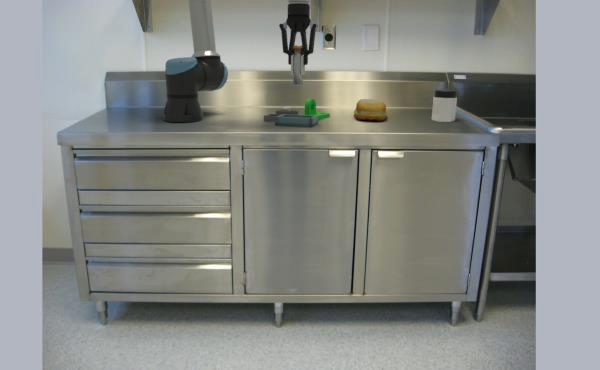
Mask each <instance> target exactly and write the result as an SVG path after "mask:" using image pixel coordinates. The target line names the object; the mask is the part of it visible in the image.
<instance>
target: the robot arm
mask: <svg viewBox="0 0 600 370" xmlns="http://www.w3.org/2000/svg"><path fill="white" fill-rule="evenodd" d="M287 2H288V5H287V18H286V20H285V21H284V22H283V23H280V24H279V25H278V26H279V29H280V30H281V33H280V34H281V41H282V43H281V44H282V53H283V54H286V55H288V56H287V57H288V58H287V64H288V65H290V75H291V76H293V56H294V55H293V49H292V46H296V43H295V42H296V39H297V33H300V38H301V46H303V56H301V75H303V76H304V75H306V66H307V65H308V64H309V55H312V54H313V53H314V50H315V40H316V31H317V29H318V28H319V26H318V24H317V23H314V22H312V20H311V18H310V17H311V16H310V14H311V13H310V10H311V8H310V7H311V6H310V4H309V3H310V2H311V0H287ZM188 7H189V8H188V9H189V17H190V18H189V19H190V26H191V36H192V37H191V38H192V43H193V45H192V46H193V53H192V55H191V56H188V57H184V56H183V57H176V58H171V59H167V61H166V62H165V70H164V73H165V88H166V102H165V106H164V110H163V114H162V120H163V121H164V122H169V123H170V122H172V123H194V122H201V121H203V120H204V112H203V110H202V107H201V104H200V102H199V92H213V91H219V90H221V89H222V88H223V87H224V86H225V84H226V83H227V81H228V76H229V72H228V67H227V66H226V65H225V63H224V62H223V61H222V60H221V55H220V53H218V52H217V49H216V38H215V28H214V20H213V19H214V18H213V17H214V16H213V7H212V0H188ZM288 28H289V30H290V34H289V35H290V36H289V37H290V38H289V42H288V32H287V29H288ZM308 28H309V29H310V33H309V42H308V41H307V40H308V39H307V29H308ZM288 43H289V44H288Z"/></svg>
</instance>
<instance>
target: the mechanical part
mask: <svg viewBox="0 0 600 370" xmlns="http://www.w3.org/2000/svg"><path fill="white" fill-rule="evenodd" d="M304 115H313V116H318V122H319V121H322V120H325V119H328V118H330V117H331V116H330V115H331V113H329V112H321V111H320V112H319V111H317V102H316V100H315V99H314V98H307V99H306V100H305V103H304Z"/></svg>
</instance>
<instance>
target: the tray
mask: <svg viewBox="0 0 600 370" xmlns="http://www.w3.org/2000/svg"><path fill="white" fill-rule="evenodd" d="M274 123H275V124H274V126H280V127H282V126H284V127H297V128H299V127H301V128H302V127H303V128H314V127H315V126H317V125H319V121H318V116H313V115H305V114H298V115H291V114H282V115H279V116H276V117H275V122H274Z"/></svg>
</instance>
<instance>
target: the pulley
mask: <svg viewBox="0 0 600 370" xmlns="http://www.w3.org/2000/svg"><path fill="white" fill-rule="evenodd" d="M291 108H292V107H291V106H289V105H288V106H287V105H286V106H283V108H282V109H279V110H275V114H291V115H299V111H298V110H296V109H295V110H293V109H291Z"/></svg>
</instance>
